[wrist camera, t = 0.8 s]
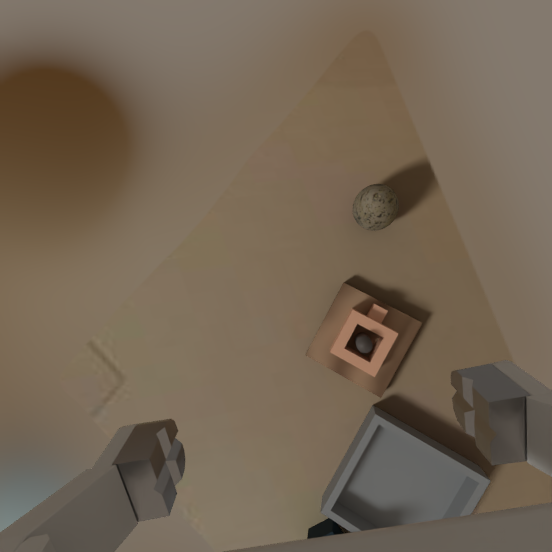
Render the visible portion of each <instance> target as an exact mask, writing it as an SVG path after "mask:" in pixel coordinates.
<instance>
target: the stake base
mask: <svg viewBox="0 0 552 552" xmlns="http://www.w3.org/2000/svg"><path fill="white" fill-rule="evenodd" d="M373 303H374V304H376V305H378V306H380V307H382V308H383V309H385V310H387V311H388V312H387V314H386V316H385V317H384V319H383V321H382V324H384V325H385V326H387V327H389V328H391V329H393V330H395V331H396V332H397V333H398V336H397V338H396V339H395V341H394V343H393V345H392V347H391V348H390V350H389V352H388V354H387V356H386V358H385V359H384V361H383V363H382V365H381V367H380V369H379V370H378V372H377V374H376V376H375V377H373V376H372V375H370V374H368V373H366V372H364V371H363V370H361V369H359V368H357V367H355V366H354V365H352V364H350V363H348V362H346V361H345V360H343V359H341V358H339V357H338V356H336V355H334V354H332V353H330V348H331V346H332V344H333V343H334V341H335V339H336V337H337V335H338V333H339V331H340V329H341V328H342V326H343V324H344V322H345V320H346V318H347V316H348V315H349V313H350V311H351V309H352V308H353V309H355V310H357V311H359V312H361V313H363V314H364V315H366V316H367V314H368V312H369V311H370V309H371V307H372V305H373ZM421 325H422V322H420V321H418V320H416V319H414V318H412V317H410V316H408V315H406V314H404V313H402V312H400V311H398V310H396V309H394V308H392V307H390V306H389V305H387V304H385V303H383V302H381V301H379V300H377V299H375V298H373V297H371V296H369V295H367V294H365V293H363V292H361V291H359V290H357V289H355V288H353V287H351V286H350V285H348V284H346V283H343V285H342V287H341V289H340V290H339V292H338V294H337V296H336V298H335V300H334V302H333V304H332V305H331V307H330V309H329V311H328V313H327V315H326V317H325V319H324V321H323V322H322V324H321V326H320V328H319V330H318V332H317V334H316V336H315V338H314V339H313V341H312V343H311V345H310V347H309V349H308V351H307V353H306V356H308V357H310V358H312V359H314V360H315V361H317V362H319V363H321V364H322V365H324V366H326V367H328V368H329V369H331V370H333V371H335V372H336V373H338V374H340V375H342V376H343V377H345V378H347V379H349V380H351V381H352V382H354V383H356V384H358V385H359V386H361V387H363V388H365V389H366V390H368V391H370V392H372V393H373V394H375V395H377V396H379V397H380V398H381V397H382V395H383V393H384V392H385V390H386V388H387V386H388V384H389V382H390V381H391V379H392V377H393V375H394V373H395V372H396V370H397V368H398V366H399V364H400V363H401V361H402V359H403V357H404V355H405V354H406V352H407V350H408V348H409V346H410V345H411V343H412V341H413V339H414V337H415V336H416V334H417V332H418V330H419V328H420V327H421ZM379 337H380V336H379V335H378V334H376V333H374V332H372V331H370V330H368V329H366V328H364V327H363V326H361V325H359V324H357V325H356V327H355V329H354V331H353V333H352V335H351V337H350V338H349V340H348V342H347V344H346V346H348V347H349V348H351V349H353V350H355V351H357V352H359V353H360V354H362V355H364V356H366V357H369V355H370V353H371V351H372V350H373V348H374V346H375V344H376V342H377V340H378V339H379Z"/></svg>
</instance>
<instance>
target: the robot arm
mask: <svg viewBox="0 0 552 552" xmlns="http://www.w3.org/2000/svg"><path fill="white" fill-rule="evenodd" d="M451 385H452V386H453V387H454V388H455V389H456V390H457V391H456V393H455V394H454V396H453V398H452V401H453V409H454V412H455V415H456V418H457V420H458V422H459V424H460V426H461V427H462V428H463V430H464V431H465V432H466V433H467V434H469V435H471V436H473V437H475V442H476V446H477V448H478V449H479V450H480V451H481V453H482V454H483V455H484V456H485V458H486V459H487V460H488V461H489V463H490V464H491V465H499V464H507V463H515V462H523V461H527V463H529V464H531V465H532V466H534V467H536V468H538V469H539V470H541V471H543V472H544V473H546V474H548V475H550V476H551V477H552V390H550V389H549V388H547V387H546V386H545V385H543V384H542V383H541V382H539V381H538V380H536V379H535V378H534V377H532V376H531V375H529V374H528V373H527V372H525V371H524V370H522V369H521V368H520V367H518V366H517V365H515V364H514V363H513V362H511V361H507V360H504V361H499V362H494V363H490V364H486V365H481V366H476V367H471V368H465V369H460V370H455V371H452V372H451ZM177 432H178V429H177V426H176V424H175V421H174V420H172V419H166V420H159V421H153V422H146V423H140V424H133V425H127V426H123V427H121V428H119V429H118V431H117V432H116V434H115V435H114V437H113V438H112V440H111V441H110V443H109V444H108V446H107V447H106V448H105V450H104V451H103V453H102V454H101V456H100V457H99V459H98V460H97V462H96V463H95V465H94V466H93V468H92V469H88V470H85V471H84V472H82V473H81V474H80V475H78V476H77V477H76V478H74V479H73V480H72V481H70V482H69V483H67V484H66V485H65V486H63V487H62V488H61V489H59V490H58V491H56V492H55V493H54V494H52V495H51V496H50V497H48V498H47V499H46V500H44V501H43V502H42V503H40V504H39V505H37V506H36V507H35V508H33V509H32V510H30V511H29V512H28V513H26V514H25V515H24V516H22V517H21V518H19V519H18V520H17V521H16V522H14V523H13V524H11V525H10V526H9V527H7V528H6V529H4V530H3V531H2V532H0V552H114V551H115V550H116V549H117V548H118V547H119V545H120V544H121V543H122V542H123V541H124V540H125V539H126V537H127V536H128V535H129V534H130V533H131V531H132V530H133V529H134V528H135V527H136V525H137V524H138V522H139V521H145V520H150V519H155V518H160V517H166V516H169V515H170V512H171V509H172V506H173V503H174V500H175V498H176V495H177V492H176V489H175V485H176V484H177V483H178V482H179V481H180V480H181V479H182V476H183V473H184V469H185V453H184V448H183V445H182V443H181V442H180V441H178V440H177V439H176V438H175V437H176V434H177ZM224 552H552V503H546V504H539V505H532V506H526V507H519V508H512V509H506V510H499V511H492V512H486V513H479V514H472V515H466V516H459V517H452V518H446V519H439V520H432V521H426V522H419V523H412V524H406V525H399V526H392V527H385V528H378V529H372V530H365V531H358V532H351V533H345V534H338V535H331V536H324V537H318V538H311V539H304V540H297V541H291V542H284V543H277V544H270V545H264V546H257V547H250V548H244V549H237V550H231V551H224Z"/></svg>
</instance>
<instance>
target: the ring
mask: <svg viewBox="0 0 552 552" xmlns="http://www.w3.org/2000/svg"><path fill="white" fill-rule="evenodd" d="M387 312H388V311H387V310H385V309H383V308H382V307H380V306H378V305H376V304H374V303H373V305H372V307H371V309H370V311H369V312H368V314H367V316H366V315H364V314H363V313H361V312H359V311H357V310H355V309H353V308H352V309H351V311H350V313H349V315H348V316H347V318H346V320H345V322H344V324H343V326H342V328H341V329H340V331H339V333H338V335H337V337H336V339H335V341H334V343H333V344H332V346H331V348H330V353H332V354H334V355H336V356H338V357H339V358H341V359H343V360H345V361H346V362H348V363H350V364H352V365H354V366H355V367H357V368H359V369H361V370H363V371H364V372H366V373H368V374H370V375H372V376H373V377H375V376H376V374H377V372H378V370H379V369H380V367H381V365H382V363H383V361H384V359H385V358H386V356H387V354H388V352H389V350H390V348H391V347H392V345H393V343H394V341H395V339H396V338H397V336H398V333H397V332H396V331H395V330H393V329H391V328H389V327H387V326H385V325H384V324H382V321H383V319H384V317H385V316H386V314H387ZM357 324H359V325H361V326H363V327H364V328H366V329H368V330H370V331H372V332H374V333H376V334H378V335H379V336H380V337H379V339H378V340H377V342H376V344H375V346H374V348H373V350H372V351H371V353H370V355H369V357H366V356H364V355H362V354H360V353H359V352H357V351H355V350H353V349H351V348H349V347H348V346H346V344H347V342H348V340H349V338H350V337H351V335H352V333H353V331H354V329H355V327H356V325H357Z"/></svg>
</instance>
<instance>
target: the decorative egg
mask: <svg viewBox="0 0 552 552" xmlns="http://www.w3.org/2000/svg"><path fill="white" fill-rule="evenodd" d="M398 207H399V203H398V198H397V196H396V194H395V192H394V191H393V190H392V189H391V188H390V187H388V186H386V185H383V184H374V185H370V186H368V187H366V188H364V189H363V190H362V191H361V192H360V193H359V194H358V195H357V197H356V199H355V201H354V204H353V215H354V218H355V220H356V222H357V223H358V224H359V225H360V226H361V227H363V228H365V229H367V230H380V229H383V228H385V227H387V226H388V225H390V224H391V223H392V222H393V220H394V219H395V217H396V215H397V213H398Z"/></svg>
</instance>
